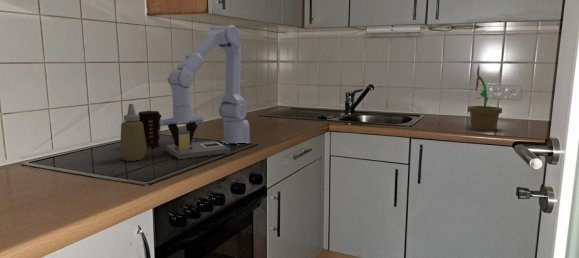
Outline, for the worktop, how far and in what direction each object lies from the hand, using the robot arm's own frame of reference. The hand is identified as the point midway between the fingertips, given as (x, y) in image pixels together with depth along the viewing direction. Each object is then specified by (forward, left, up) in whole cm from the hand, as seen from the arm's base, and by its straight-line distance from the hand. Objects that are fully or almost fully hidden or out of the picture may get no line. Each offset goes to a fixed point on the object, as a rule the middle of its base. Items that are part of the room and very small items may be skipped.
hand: (183, 145), depth 142 cm
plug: (0, 0, -3) cm, 3 cm away
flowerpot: (-135, +18, -3) cm, 136 cm away
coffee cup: (+7, -18, -3) cm, 20 cm away
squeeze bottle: (+16, 0, -3) cm, 16 cm away
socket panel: (-5, 0, -3) cm, 6 cm away
